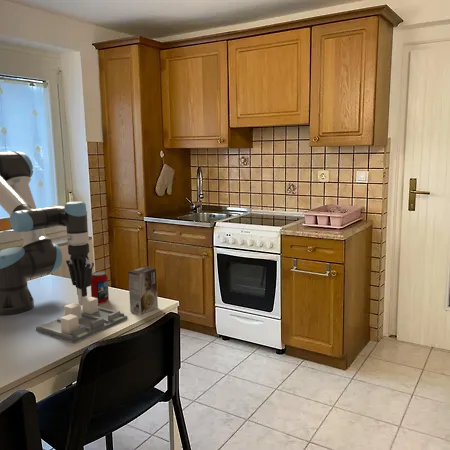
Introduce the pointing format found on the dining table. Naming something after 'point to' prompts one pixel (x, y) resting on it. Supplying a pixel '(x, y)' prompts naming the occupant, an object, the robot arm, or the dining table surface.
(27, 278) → the robot arm
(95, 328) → the switch board
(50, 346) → the dining table surface
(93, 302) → the cream white block
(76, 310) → the beige block
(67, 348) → the dining table surface
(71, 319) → the beige block
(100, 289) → the beverage can
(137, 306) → the coffee box
